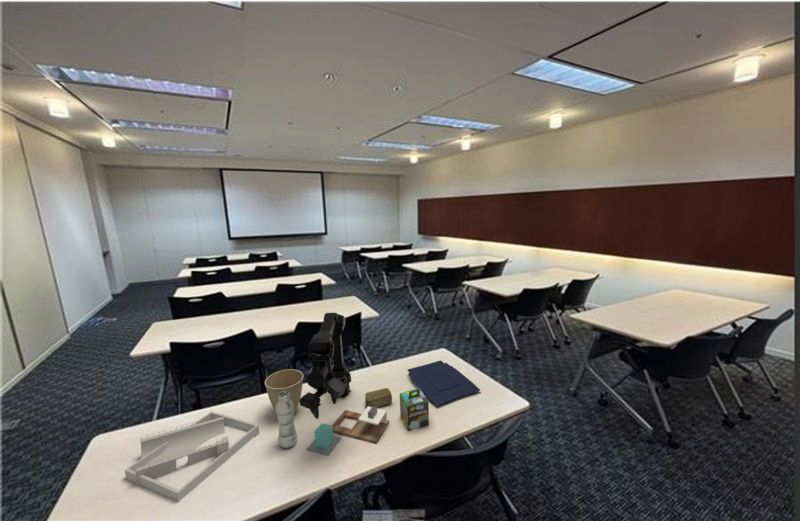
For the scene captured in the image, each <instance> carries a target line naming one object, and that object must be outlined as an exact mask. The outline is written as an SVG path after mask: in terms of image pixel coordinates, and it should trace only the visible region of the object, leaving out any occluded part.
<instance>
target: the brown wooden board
mask: <svg viewBox="0 0 800 521" xmlns="http://www.w3.org/2000/svg"><path fill="white" fill-rule="evenodd" d="M362 414H363V413H360V412H356V411H353V410H352V411H351V410H347V409H344V411H343V412H341V414H339V416H338V417H337V418H336V420H334V422H333V424H331V425H332V426H333V434H336V435H340V436H345V437H348V438H352V439H356V440H360V441H364V442H368V443H372V444H375V445H377V444H378V443H379V441H380V439H381V437H382V436H383V434H384V433H385V431H386V429H387V428H388V427H389V424H390V420H388V419H387V423H382V422H380V423H379V425H374V424H370V423H366V422H362V421H358V419H359V418H360V416H361V415H362ZM345 419H349V420H354V421H356V422H355V424H353V427H352V428H348V427H345V426H341V424H342V423H343V421H344V420H345Z"/></svg>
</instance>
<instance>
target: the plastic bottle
mask: <svg viewBox="0 0 800 521" xmlns="http://www.w3.org/2000/svg"><path fill="white" fill-rule="evenodd" d="M278 397H279V398H278V400H279V402H278V404H277V405H276V409H275V410H276V412H275V414H276V417H277V418H276V419H277V422H278V436H277V437H278V438H277V439H278V440H277V442H278V444H279V446H280V447H281V448H283V449H290V448H292V447H293V446H294V445H295V444H296V442H297V440H298V439H297V438H298V435H297V430H296V426H295V425H296V424H295V417H294V416H295V415H294V403H293V402H292V401H291V400H290V399H289V398H290V396H289V392H288V391H283V392H281V393H279V395H278ZM275 410H274V411H275Z"/></svg>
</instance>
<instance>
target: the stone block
mask: <svg viewBox="0 0 800 521" xmlns="http://www.w3.org/2000/svg"><path fill="white" fill-rule="evenodd" d="M392 395H393V394H392V391H391V390H390V388H387V387H385V388H380V389H375V390H372V391H369V392H366V393H365V397H364V401H365V402H364V403H365V408H367V407H368V406H369V407H372V406H373V407H377V408H379V407H382V406H386V405H390V404H391V403H393V396H392Z"/></svg>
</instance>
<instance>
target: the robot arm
mask: <svg viewBox="0 0 800 521" xmlns="http://www.w3.org/2000/svg"><path fill="white" fill-rule="evenodd" d="M345 327H346V318H345V316H344V315H343V314H342V315H341V314H339V313H337V312H326V313H324V316H323V321H322V324H321V326H320V329H319V330H318V331H319V332H317V333H316V334H313V336H312V338H311V341H309V344H308V353H307V363H308V364H309V363H311V368H310V370H309V372H308V374H307V376H306V384H307V385H308V386H309V387H311V388H312V389H314V390H316V392H314V393H312V392H310V391H308V392H306V393H305V394H304V395H303V396H301V397H300V401H299V406H300V407H303V408H305V409H309V411H310V412H311V414H312V415H313V417H314V418H315V419H316V420H318V419H319V417H320V412H319V411H320V410H319V407H320V406H321V405H322V404H321V398H322V397H323V396H324V395H325V394H327V393H328V394H329V395H330V399H331V401H332V404H333V405H336V404H337V400H338V399H339V398H340V399H345V398H346V397H347V396H348V395H349V394H350V393H351V388H350V383H352V374H351V372H350V370H349V368H348V365H347V364H346V363H345V360H344V354H343V353H344V352H343V351H344V350H343V340H342V338H343V337H342V334H343V332H344V330H345V329H344V328H345ZM332 362H333V363H332Z"/></svg>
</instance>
